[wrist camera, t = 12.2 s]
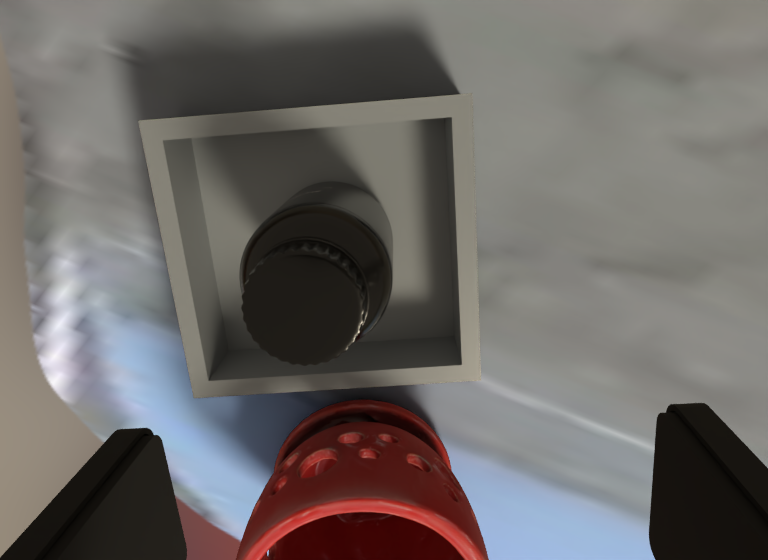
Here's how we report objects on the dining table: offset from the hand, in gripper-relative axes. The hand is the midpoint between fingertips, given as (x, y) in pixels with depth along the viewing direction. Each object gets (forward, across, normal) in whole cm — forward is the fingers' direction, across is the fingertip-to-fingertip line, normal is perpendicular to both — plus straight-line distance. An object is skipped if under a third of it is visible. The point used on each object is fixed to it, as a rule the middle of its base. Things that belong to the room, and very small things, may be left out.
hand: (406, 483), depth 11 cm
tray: (+24, +5, 0) cm, 24 cm away
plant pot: (+24, +4, +17) cm, 30 cm away
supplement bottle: (+23, +5, 0) cm, 23 cm away
